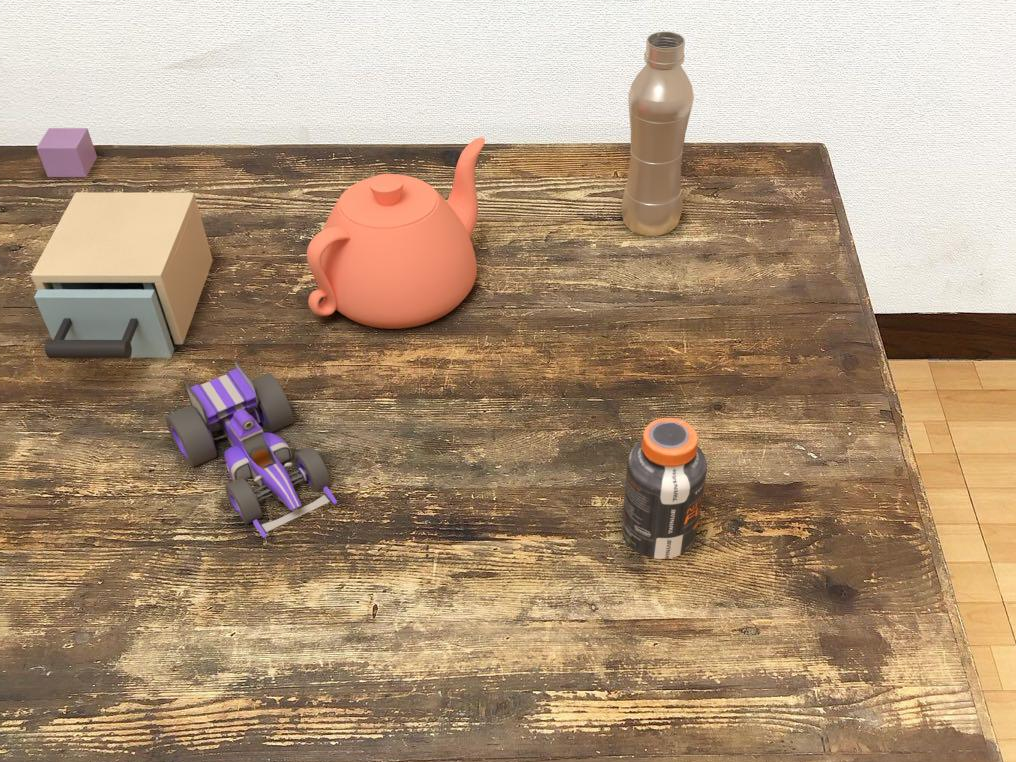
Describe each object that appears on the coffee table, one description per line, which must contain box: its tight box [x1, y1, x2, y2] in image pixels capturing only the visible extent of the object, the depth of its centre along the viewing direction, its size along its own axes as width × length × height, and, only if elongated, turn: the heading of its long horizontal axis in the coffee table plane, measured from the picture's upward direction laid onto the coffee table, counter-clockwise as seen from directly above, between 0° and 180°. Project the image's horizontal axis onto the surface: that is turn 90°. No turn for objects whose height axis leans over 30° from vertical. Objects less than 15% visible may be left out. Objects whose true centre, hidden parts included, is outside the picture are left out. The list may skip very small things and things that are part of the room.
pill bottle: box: [621, 417, 708, 560], centre depth 81 cm, size 6×6×11 cm
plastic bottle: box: [620, 31, 695, 237], centre depth 107 cm, size 6×7×20 cm
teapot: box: [306, 136, 486, 330], centre depth 103 cm, size 22×16×12 cm
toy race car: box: [165, 360, 339, 539], centre depth 88 cm, size 10×15×6 cm, turn 35°
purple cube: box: [36, 127, 98, 178], centre depth 121 cm, size 4×4×4 cm
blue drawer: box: [33, 283, 175, 359], centre depth 99 cm, size 17×10×7 cm, turn 0°
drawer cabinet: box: [30, 192, 214, 345], centre depth 102 cm, size 14×12×9 cm
